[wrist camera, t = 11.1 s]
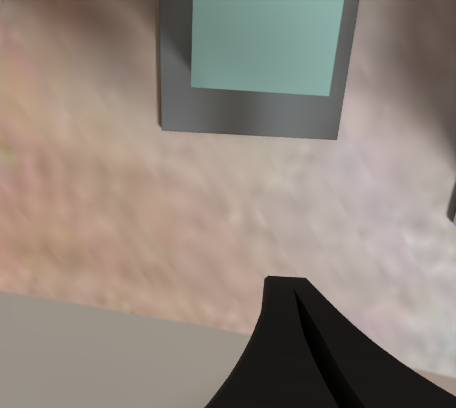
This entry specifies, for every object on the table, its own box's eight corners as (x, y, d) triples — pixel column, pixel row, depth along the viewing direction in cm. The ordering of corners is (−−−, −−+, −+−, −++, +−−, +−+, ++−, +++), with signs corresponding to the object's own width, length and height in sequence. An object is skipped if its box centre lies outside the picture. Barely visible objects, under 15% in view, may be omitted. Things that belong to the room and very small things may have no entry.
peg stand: (367, -71, 16) (429, -143, 11) (334, 138, 19) (370, 157, 14) (159, -82, 16) (125, -159, 11) (163, 129, 19) (137, 145, 14)
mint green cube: (313, -19, 16) (355, -73, 11) (299, 92, 18) (328, 96, 13) (208, -26, 16) (194, -84, 11) (204, 86, 18) (190, 87, 13)
